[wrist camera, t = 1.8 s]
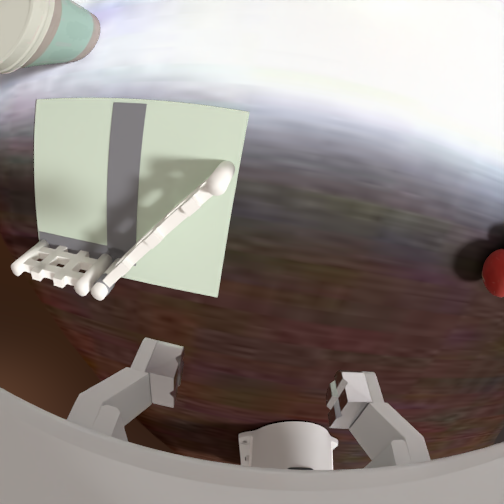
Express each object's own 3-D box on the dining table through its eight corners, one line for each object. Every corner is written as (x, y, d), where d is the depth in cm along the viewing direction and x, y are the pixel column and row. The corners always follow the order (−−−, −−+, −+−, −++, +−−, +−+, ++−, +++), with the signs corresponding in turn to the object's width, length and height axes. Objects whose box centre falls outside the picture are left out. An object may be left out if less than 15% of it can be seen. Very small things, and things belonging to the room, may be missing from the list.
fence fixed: (112, 254, 33) (86, 284, 27) (112, 266, 34) (88, 297, 28) (39, 238, 33) (9, 262, 27) (41, 249, 33) (12, 274, 28)
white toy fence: (121, 273, 34) (99, 303, 28) (110, 262, 33) (87, 291, 28) (239, 171, 28) (232, 187, 23) (226, 156, 28) (216, 169, 22)
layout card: (217, 295, 35) (217, 297, 35) (43, 255, 34) (41, 257, 34) (249, 112, 26) (249, 112, 26) (38, 99, 25) (36, 99, 25)
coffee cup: (123, 1, 21) (56, -33, 10) (98, 77, 25) (20, 75, 14) (61, 3, 20) (-11, -16, 9) (40, 71, 24) (-38, 75, 13)
